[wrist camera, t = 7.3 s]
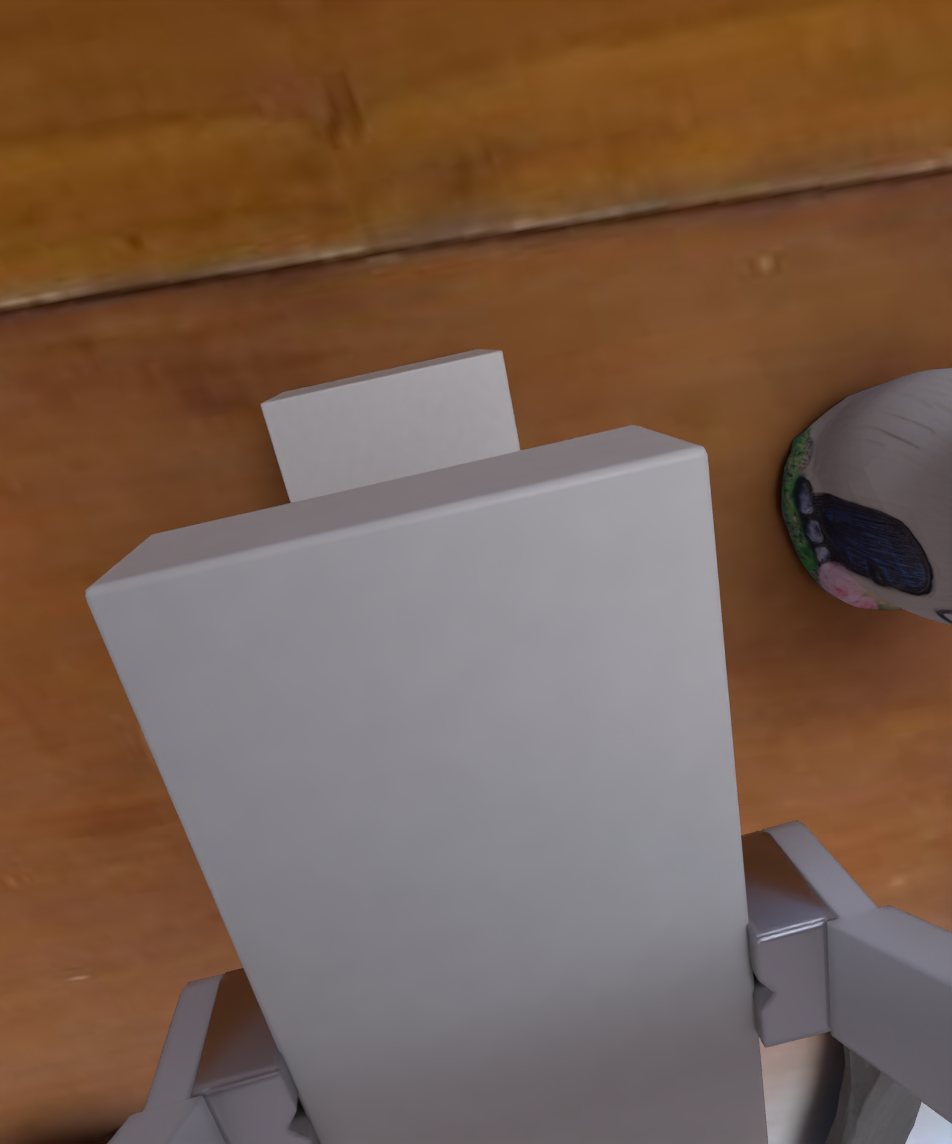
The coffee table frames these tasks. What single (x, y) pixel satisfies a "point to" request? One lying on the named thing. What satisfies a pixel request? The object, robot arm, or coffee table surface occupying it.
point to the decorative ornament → (878, 497)
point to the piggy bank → (108, 1138)
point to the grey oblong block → (392, 423)
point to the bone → (871, 1106)
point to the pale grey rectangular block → (467, 792)
